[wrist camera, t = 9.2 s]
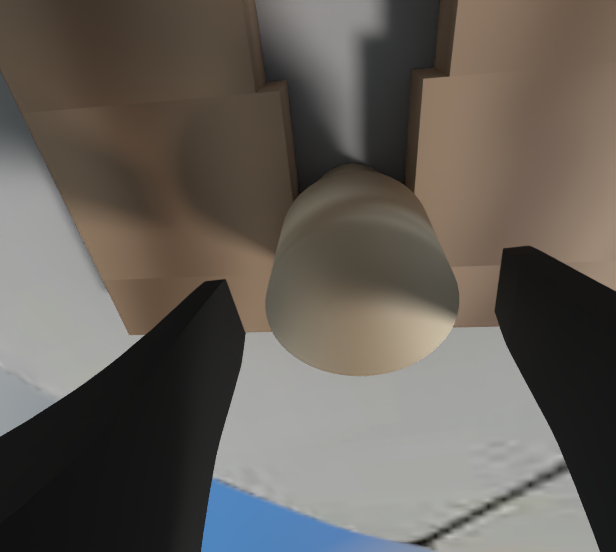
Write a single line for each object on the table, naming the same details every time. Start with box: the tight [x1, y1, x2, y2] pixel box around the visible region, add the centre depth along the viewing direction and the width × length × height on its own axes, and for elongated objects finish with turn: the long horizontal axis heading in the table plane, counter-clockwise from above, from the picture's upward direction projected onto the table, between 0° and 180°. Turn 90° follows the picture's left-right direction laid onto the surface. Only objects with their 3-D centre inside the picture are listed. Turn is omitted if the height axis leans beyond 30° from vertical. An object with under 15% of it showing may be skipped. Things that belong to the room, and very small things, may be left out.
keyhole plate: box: [0, 0, 616, 335], centre depth 12 cm, size 20×18×2 cm
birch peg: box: [265, 163, 459, 376], centre depth 12 cm, size 5×5×6 cm
